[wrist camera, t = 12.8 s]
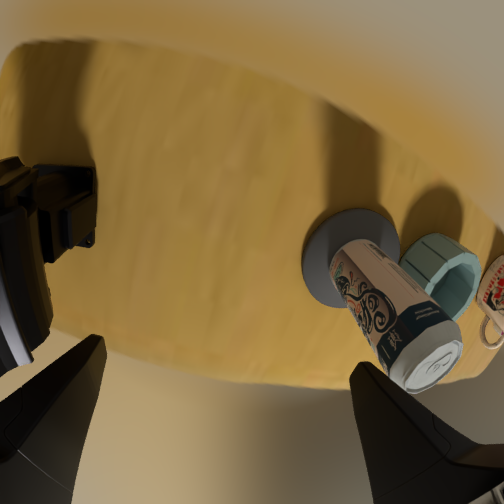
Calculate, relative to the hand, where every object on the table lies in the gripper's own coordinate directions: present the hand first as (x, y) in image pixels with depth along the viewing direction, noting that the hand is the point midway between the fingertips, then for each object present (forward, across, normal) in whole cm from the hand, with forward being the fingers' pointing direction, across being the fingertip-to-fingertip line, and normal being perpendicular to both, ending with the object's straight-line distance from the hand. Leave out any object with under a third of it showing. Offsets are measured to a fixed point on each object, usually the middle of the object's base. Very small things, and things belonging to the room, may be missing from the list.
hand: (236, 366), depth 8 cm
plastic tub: (+13, -20, +1) cm, 24 cm away
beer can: (+12, -10, +1) cm, 16 cm away
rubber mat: (+13, -10, +1) cm, 17 cm away
